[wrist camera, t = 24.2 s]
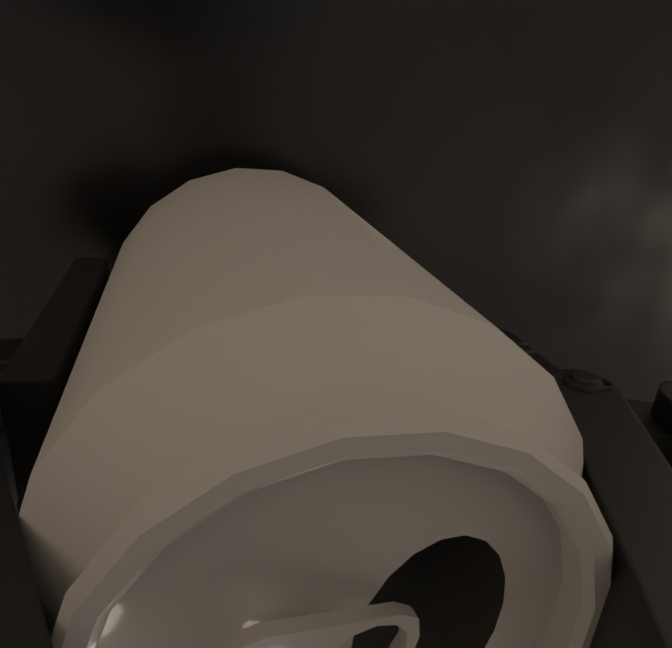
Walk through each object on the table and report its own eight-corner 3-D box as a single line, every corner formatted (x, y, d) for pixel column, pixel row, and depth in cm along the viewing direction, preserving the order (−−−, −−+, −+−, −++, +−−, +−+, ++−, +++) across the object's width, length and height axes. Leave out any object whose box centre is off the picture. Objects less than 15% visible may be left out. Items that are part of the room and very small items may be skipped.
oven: (-146, -33, 33) (-970, -311, 9) (487, 38, 42) (852, -13, 19) (-47, 441, 45) (-302, 834, 21) (429, 412, 54) (609, 660, 31)
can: (341, 417, 19) (538, 857, 8) (100, 394, 17) (-59, 961, 6) (403, 194, 16) (803, 411, 6) (130, 133, 14) (-47, 299, 4)
